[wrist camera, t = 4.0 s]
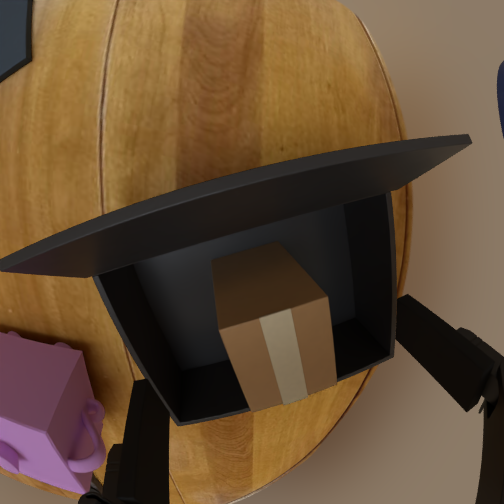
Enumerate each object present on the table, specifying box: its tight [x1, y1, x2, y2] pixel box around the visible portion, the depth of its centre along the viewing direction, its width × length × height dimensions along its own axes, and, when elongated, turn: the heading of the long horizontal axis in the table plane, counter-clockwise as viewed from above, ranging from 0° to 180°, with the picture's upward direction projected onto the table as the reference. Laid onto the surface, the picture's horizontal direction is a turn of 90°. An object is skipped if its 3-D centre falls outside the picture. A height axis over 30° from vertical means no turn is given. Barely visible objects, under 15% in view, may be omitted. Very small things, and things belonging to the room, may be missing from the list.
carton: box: [92, 191, 397, 426], centre depth 19 cm, size 17×13×6 cm
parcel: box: [211, 241, 337, 412], centre depth 17 cm, size 5×6×9 cm
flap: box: [0, 134, 472, 278], centre depth 10 cm, size 17×6×1 cm
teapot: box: [0, 331, 106, 494], centre depth 15 cm, size 20×10×12 cm, turn 82°
